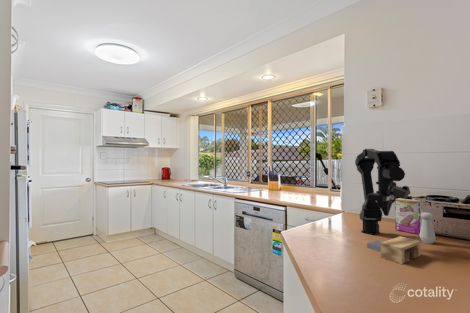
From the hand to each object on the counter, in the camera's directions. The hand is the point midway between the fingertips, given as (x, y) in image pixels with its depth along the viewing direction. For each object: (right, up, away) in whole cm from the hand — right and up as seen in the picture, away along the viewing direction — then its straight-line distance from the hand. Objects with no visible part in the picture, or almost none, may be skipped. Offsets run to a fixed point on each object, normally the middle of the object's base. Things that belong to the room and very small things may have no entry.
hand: (386, 215), depth 106 cm
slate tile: (-4, -13, -9) cm, 16 cm away
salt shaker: (+20, -13, +3) cm, 24 cm away
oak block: (-3, -12, -14) cm, 19 cm away
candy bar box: (+24, -13, +19) cm, 33 cm away
